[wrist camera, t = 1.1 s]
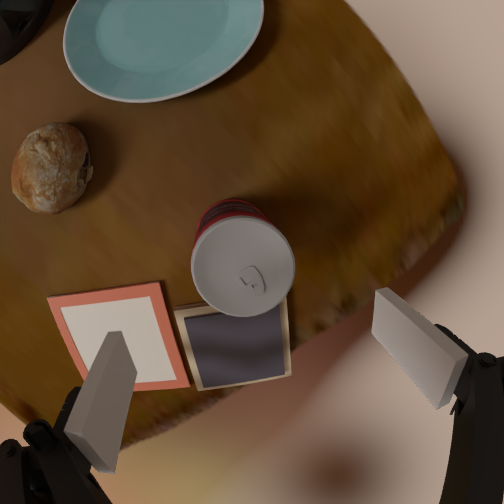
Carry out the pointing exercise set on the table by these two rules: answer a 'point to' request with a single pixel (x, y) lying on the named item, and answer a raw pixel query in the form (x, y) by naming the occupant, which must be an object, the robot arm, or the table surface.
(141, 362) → the print sheet
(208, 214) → the canned food
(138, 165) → the table surface
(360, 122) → the table surface
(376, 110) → the table surface
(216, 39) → the plate
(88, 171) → the bread roll
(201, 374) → the ink pad
